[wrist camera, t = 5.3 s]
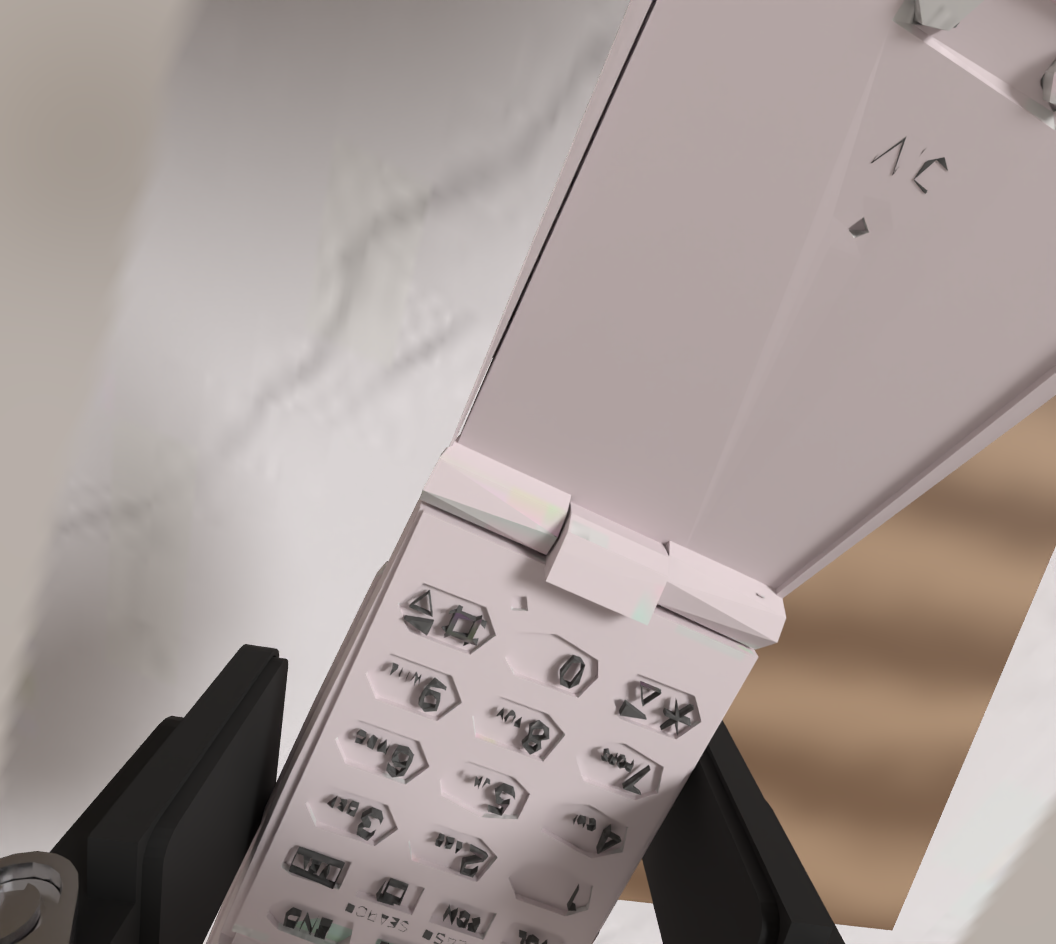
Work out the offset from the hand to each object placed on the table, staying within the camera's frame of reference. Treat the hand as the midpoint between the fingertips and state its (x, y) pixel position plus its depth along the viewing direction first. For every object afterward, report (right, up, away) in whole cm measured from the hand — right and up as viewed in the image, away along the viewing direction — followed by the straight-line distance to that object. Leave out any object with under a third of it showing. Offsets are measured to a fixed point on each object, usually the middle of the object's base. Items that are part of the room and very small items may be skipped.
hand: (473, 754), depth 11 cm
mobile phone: (0, +1, +1) cm, 1 cm away
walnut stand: (+14, -1, +17) cm, 22 cm away
